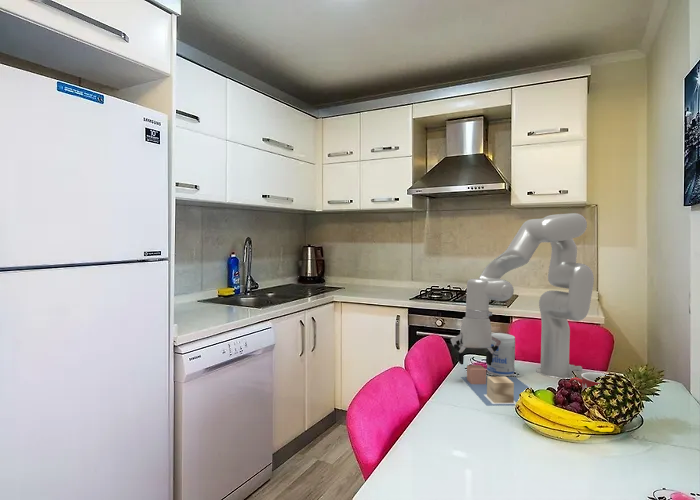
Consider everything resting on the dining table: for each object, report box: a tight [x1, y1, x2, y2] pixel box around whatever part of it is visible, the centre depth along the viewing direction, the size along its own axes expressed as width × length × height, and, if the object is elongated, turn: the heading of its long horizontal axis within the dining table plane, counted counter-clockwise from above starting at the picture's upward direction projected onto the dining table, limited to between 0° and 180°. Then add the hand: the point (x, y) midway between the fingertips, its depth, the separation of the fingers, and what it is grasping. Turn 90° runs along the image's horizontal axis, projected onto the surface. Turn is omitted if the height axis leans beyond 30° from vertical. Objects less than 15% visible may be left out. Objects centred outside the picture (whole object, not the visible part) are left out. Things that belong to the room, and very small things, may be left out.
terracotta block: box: [466, 364, 487, 384], centre depth 146 cm, size 5×5×5 cm
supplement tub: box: [486, 332, 516, 377], centre depth 157 cm, size 10×10×15 cm
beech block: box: [486, 376, 514, 403], centre depth 130 cm, size 6×6×6 cm
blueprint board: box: [460, 376, 530, 407], centre depth 138 cm, size 20×26×1 cm
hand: (474, 363), depth 145 cm, fingers open, 9 cm apart
